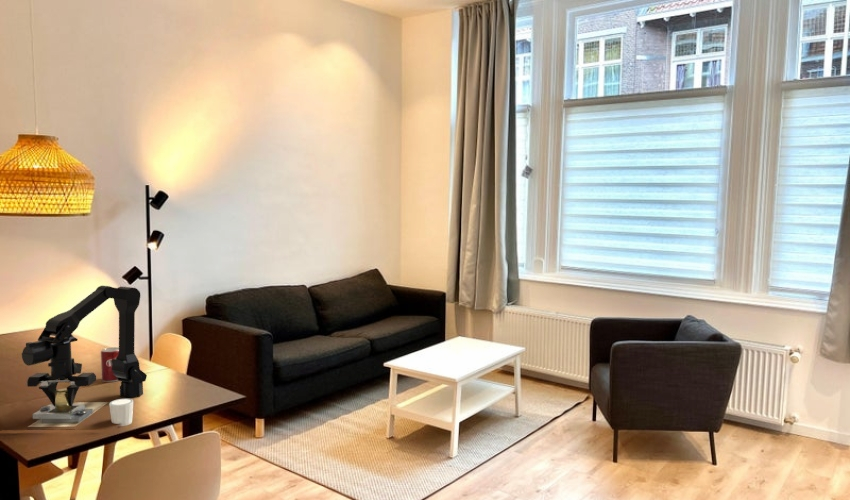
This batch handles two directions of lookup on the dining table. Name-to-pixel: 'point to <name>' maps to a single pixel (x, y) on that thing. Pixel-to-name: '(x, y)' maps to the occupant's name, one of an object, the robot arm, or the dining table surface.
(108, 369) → the soda can
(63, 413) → the square frame with knobs
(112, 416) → the white short tapered cylinder
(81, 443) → the dining table surface
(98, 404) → the board
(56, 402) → the pin
